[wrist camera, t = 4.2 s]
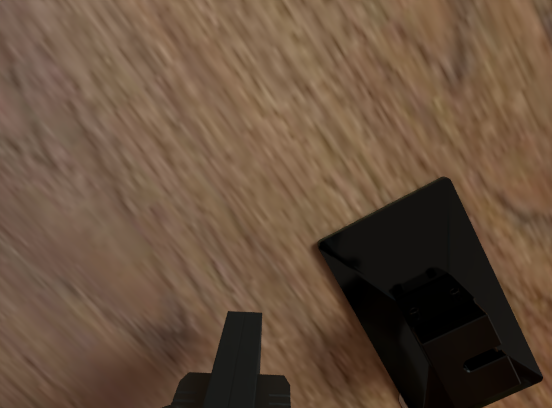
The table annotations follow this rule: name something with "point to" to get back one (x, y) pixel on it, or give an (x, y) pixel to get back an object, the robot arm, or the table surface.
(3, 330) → the table surface
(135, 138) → the table surface
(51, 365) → the table surface
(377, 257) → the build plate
